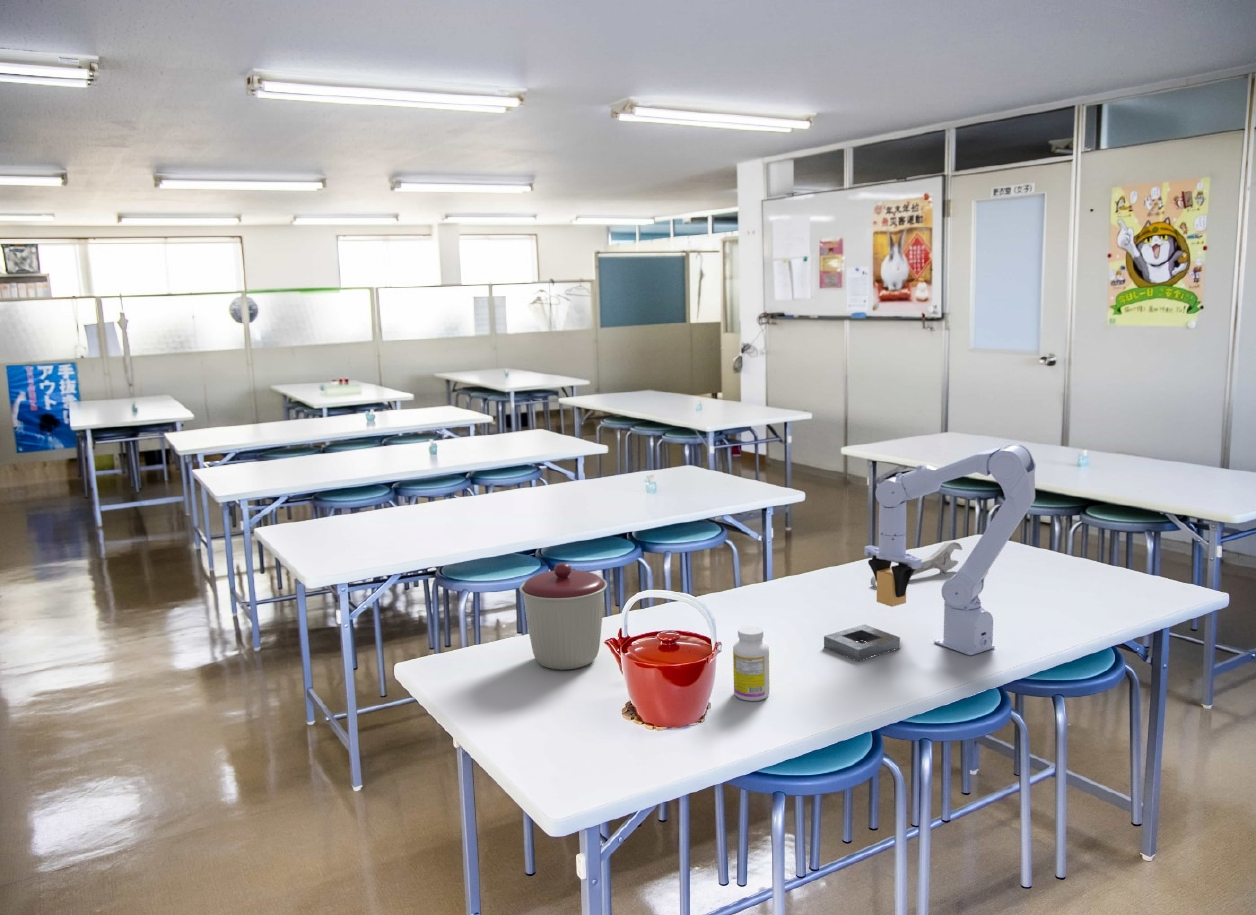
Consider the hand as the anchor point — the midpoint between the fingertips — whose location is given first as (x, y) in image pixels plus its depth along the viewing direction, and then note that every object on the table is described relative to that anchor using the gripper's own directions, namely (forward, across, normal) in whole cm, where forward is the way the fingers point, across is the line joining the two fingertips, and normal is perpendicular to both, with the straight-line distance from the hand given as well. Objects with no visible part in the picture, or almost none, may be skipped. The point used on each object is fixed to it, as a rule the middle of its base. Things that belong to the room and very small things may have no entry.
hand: (891, 593), depth 209 cm
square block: (+2, 0, 0) cm, 2 cm away
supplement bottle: (+9, +8, -46) cm, 48 cm away
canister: (+9, -28, -66) cm, 72 cm away
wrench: (+9, -24, +36) cm, 44 cm away
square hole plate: (+9, +3, -12) cm, 15 cm away
